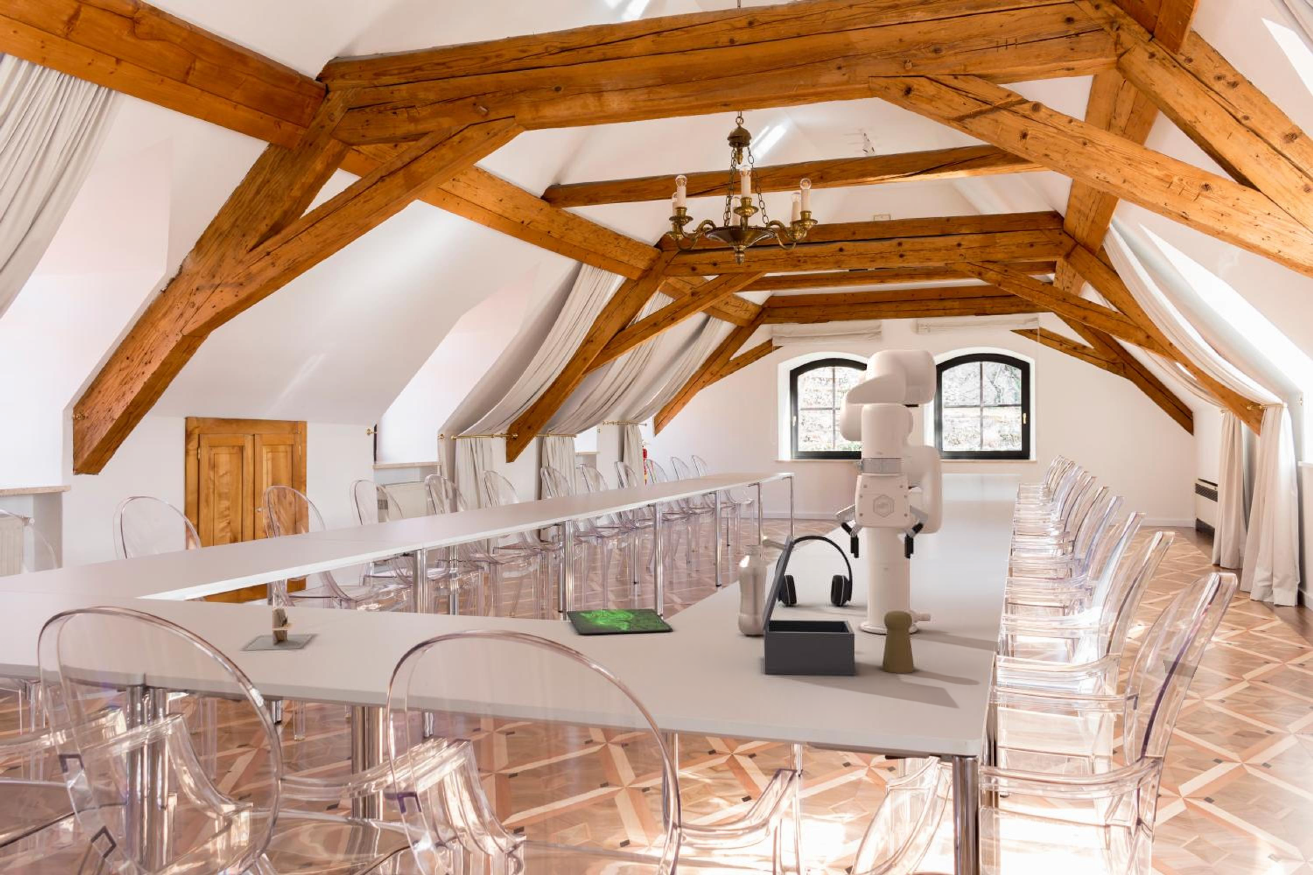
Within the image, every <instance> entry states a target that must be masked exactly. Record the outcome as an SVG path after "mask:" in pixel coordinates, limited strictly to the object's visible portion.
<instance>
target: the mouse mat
mask: <svg viewBox="0 0 1313 875" xmlns="http://www.w3.org/2000/svg"><path fill="white" fill-rule="evenodd" d="M566 616H567V617H568V619H569V621H570V623H571V624H572V627H573V628H574V629H575V631H576V633H577V634H579V635H608V634H611V635H612V634H637V633H639V634H641V633H664V632H671V631H672V630H673V628H672V627H671V625H669V624H668V623H667V622H666V621H665V620H664V619H663V618H661V616H660V615H659V614H658V613H657V612H656V611H655V609H653V608H622V609H594V610H593V609H591V610H569V611H566Z"/></svg>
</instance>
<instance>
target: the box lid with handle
mask: <svg viewBox="0 0 1313 875" xmlns="http://www.w3.org/2000/svg"><path fill="white" fill-rule="evenodd" d="M786 535H787V536H786V538H785V542H784V543H781V542H780V541H779V542H778V541H774V540H773V539H771V537H770V536H769V535H764V536H763V537H762V538H761V547H763V548H764V549H769V548H770V547H771V548H773V549H777V550H780V551H781V554H782V555H781V554H780V555H781V558H780V561H779V564H778V567H777V571H776V574H775V573H774V577H773V580H772V584H771V587H770V589H769V594H768V597H767V599H766V601H765V609H764V612H763V615H762V624H763V630H767V628H768V625H769V622H770V620H772V619H771V618H772V615H773V612H774V610H775V606H776V603H777V601H778V599H777V596H778V593H779V590H780V587H781V584H782V580H783V577H784V575H786V571H787V567H788V564H789V561H790V558H791V555H792V552H793V549H794V546H795V545H794V540H795V539H794V537H793V534H789V533H788V534H786ZM793 545H794V546H793Z"/></svg>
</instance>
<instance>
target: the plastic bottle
mask: <svg viewBox="0 0 1313 875" xmlns="http://www.w3.org/2000/svg"><path fill="white" fill-rule="evenodd" d="M743 554H744V556H743V558H742V559H741V561H740V562H739V564H738V566H737V574H738V575H737V577H738V582H739V583H738V584H739V592H740V603H739V604H740V605H739V615H738V619H737V620H738V621H737V624H738V630H739V631H740V633H741V634H744V635H749V636H759V635H764V630H763V624H762V615H763V612H764V609H765V606H766V594H765V593H766V585H767V584H766V583H767V576H768V575H767V574H768V567H767V564H766V562H764V560H763V558H762V557H761V554H762V544H761V545H760V544H744V546H743Z"/></svg>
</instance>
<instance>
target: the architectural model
mask: <svg viewBox="0 0 1313 875" xmlns="http://www.w3.org/2000/svg"><path fill="white" fill-rule="evenodd" d="M271 612H272V614H271V615H272V623H271V624H272V625H271V626H272V630H271V631H272V635H265V636H263V635H261V636H260V637H259V638H258V639H256V640H255V641H254V642H253V643H251V644H250V645H248V646H247V647H246V648H245V649H244V651H260V650H261V651H262V650H292V649H293V650H294V649H301V648H302V647H304V646H305V644H306V643H307V642H308V641H310V639H311V638H312V637H314V634H302V635H301V634H299V635H298V634H297V635H288V631H289V630H290V629H291V628H292V627H293V626H294V625H295V622H288V621H289V617H288V615H286V611H285V608H284V607H283V608H282V607H281V608H280V606H279V605H278V606H277V607H275V608H274V609H272V611H271Z"/></svg>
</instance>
